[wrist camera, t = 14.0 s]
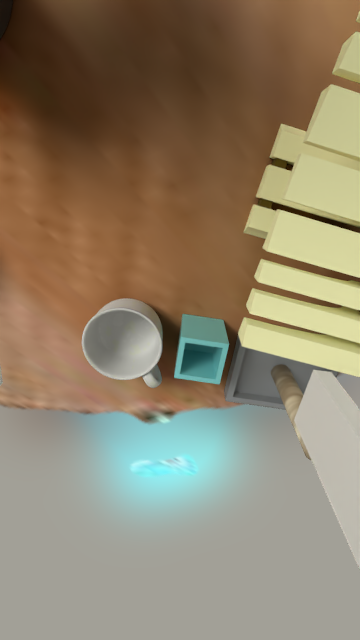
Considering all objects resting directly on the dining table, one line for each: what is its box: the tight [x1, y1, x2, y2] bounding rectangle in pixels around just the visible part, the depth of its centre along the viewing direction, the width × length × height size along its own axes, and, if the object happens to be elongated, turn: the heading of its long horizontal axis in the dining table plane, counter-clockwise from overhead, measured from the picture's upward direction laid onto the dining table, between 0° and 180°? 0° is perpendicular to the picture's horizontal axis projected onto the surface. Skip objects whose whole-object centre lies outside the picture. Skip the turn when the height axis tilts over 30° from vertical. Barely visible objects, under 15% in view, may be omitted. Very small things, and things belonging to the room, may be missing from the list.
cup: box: [174, 314, 229, 384], centre depth 43 cm, size 6×6×8 cm
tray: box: [224, 335, 338, 410], centre depth 48 cm, size 16×12×3 cm
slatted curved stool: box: [238, 11, 360, 377], centre depth 30 cm, size 30×16×18 cm, turn 165°
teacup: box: [82, 298, 163, 388], centre depth 44 cm, size 14×11×8 cm
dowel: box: [271, 364, 311, 460], centre depth 41 cm, size 3×3×16 cm
